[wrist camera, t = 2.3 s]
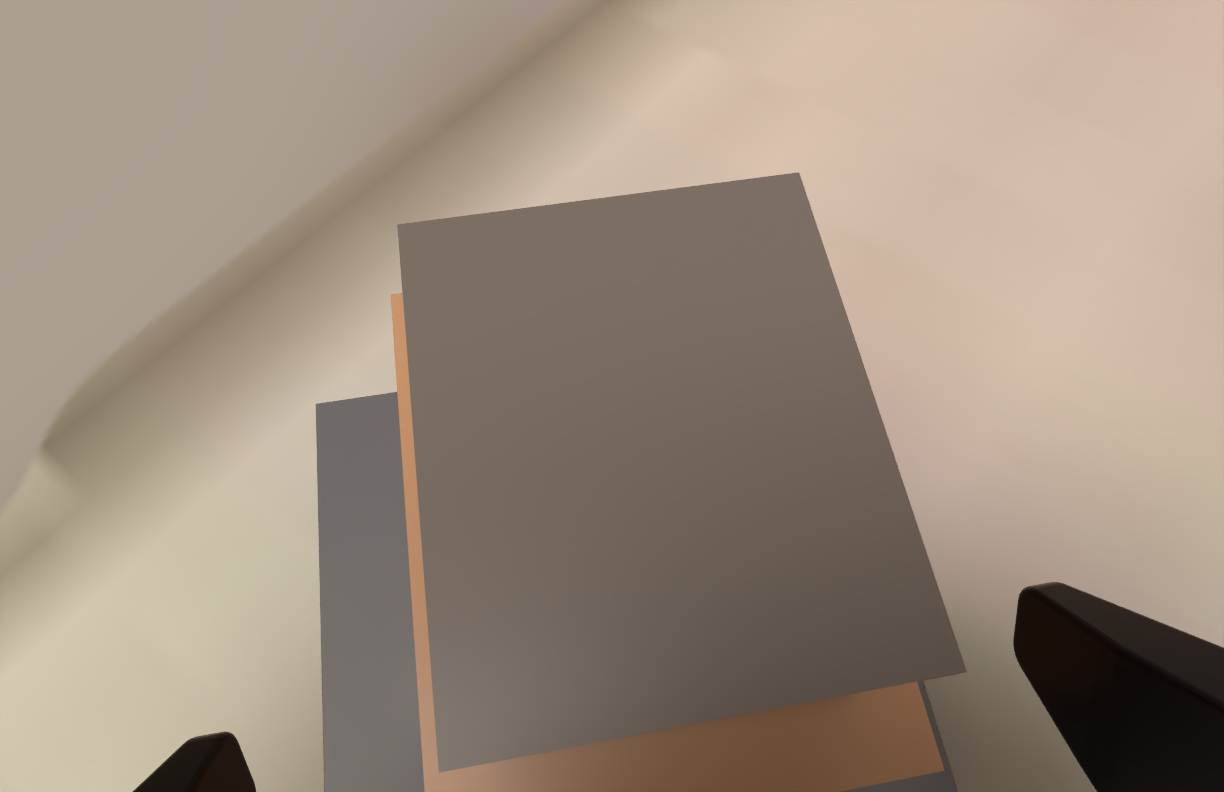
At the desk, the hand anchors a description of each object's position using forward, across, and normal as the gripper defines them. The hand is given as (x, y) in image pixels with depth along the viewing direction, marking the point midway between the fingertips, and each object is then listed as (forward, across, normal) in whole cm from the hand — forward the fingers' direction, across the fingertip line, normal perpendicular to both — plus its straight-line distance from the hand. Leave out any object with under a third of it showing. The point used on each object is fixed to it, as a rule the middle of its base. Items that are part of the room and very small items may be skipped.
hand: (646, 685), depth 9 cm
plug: (+7, 0, +5) cm, 9 cm away
